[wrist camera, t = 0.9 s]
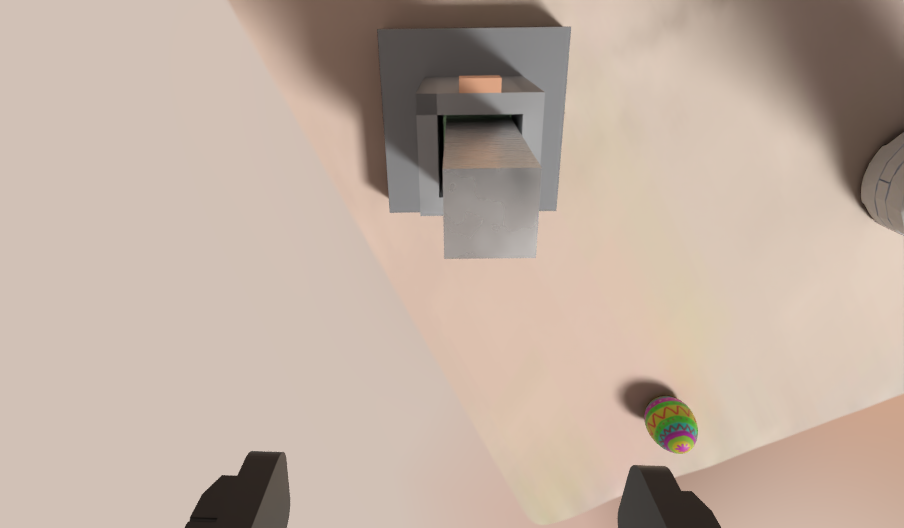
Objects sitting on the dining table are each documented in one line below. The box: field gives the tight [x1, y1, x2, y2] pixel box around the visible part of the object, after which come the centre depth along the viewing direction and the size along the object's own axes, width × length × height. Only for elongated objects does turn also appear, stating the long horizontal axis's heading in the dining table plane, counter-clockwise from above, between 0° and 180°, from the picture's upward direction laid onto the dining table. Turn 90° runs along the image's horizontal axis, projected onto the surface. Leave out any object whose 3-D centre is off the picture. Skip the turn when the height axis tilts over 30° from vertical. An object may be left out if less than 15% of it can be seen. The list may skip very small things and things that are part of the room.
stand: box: [377, 27, 571, 216], centre depth 36 cm, size 14×14×13 cm
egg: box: [645, 396, 698, 454], centre depth 53 cm, size 5×5×6 cm
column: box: [443, 114, 542, 259], centre depth 30 cm, size 4×4×20 cm
